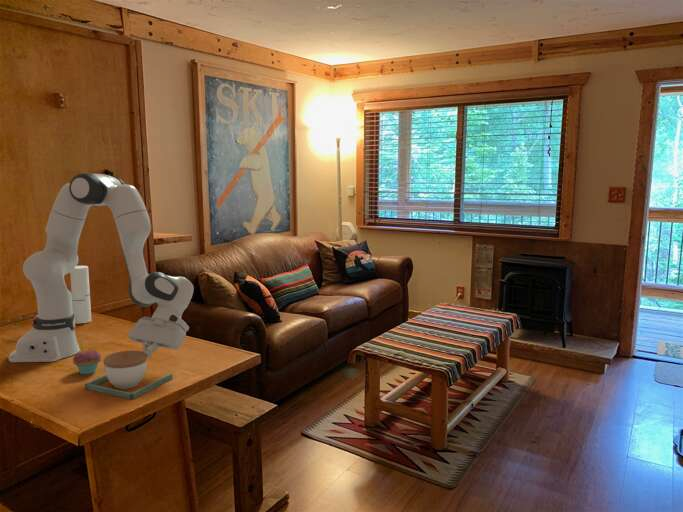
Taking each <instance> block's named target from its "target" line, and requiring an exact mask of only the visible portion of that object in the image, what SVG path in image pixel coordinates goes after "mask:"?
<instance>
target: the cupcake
mask: <svg viewBox="0 0 683 512" xmlns="http://www.w3.org/2000/svg"><path fill="white" fill-rule="evenodd" d="M79 346H80V351H79V352H78V353H76V354H74V355H73V356H74V357H73V358H72V364H73V365H74V366H76V367H77V369H78V371H79V373H80V374H81V375H90V374H93V373H95V372H96V370H97V367H98V364H99V363H100V362H102V355H101V354H100V353H99V352H98V351H95V350H93V349H91V350H90V349H89V350H84V345H83V341H82V340H81V339H79Z"/></svg>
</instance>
